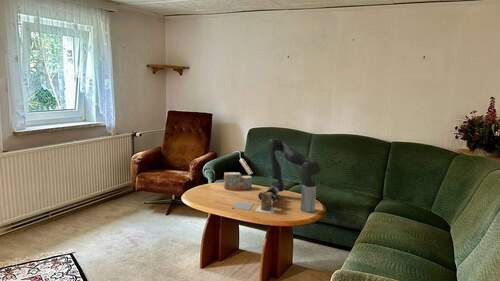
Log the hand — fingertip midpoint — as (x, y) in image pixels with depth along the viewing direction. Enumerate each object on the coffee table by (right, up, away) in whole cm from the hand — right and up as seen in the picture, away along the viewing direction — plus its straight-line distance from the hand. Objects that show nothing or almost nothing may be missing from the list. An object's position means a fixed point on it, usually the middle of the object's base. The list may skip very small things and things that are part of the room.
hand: (266, 199), depth 245 cm
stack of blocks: (-21, +1, +49) cm, 53 cm away
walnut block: (0, -6, 0) cm, 6 cm away
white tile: (0, -7, +1) cm, 7 cm away
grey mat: (-16, -6, +5) cm, 17 cm away
